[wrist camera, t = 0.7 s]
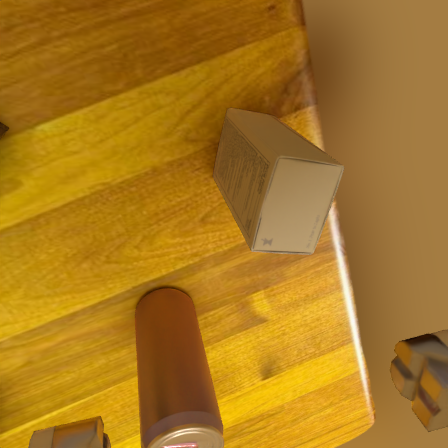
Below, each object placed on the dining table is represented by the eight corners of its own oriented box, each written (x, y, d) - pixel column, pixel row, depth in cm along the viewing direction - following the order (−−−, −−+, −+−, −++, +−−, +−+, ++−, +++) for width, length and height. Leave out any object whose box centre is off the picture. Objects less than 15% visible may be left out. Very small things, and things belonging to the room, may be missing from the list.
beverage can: (140, 282, 37) (151, 428, 24) (199, 287, 39) (237, 425, 26) (129, 328, 40) (134, 481, 27) (185, 330, 42) (213, 475, 29)
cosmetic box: (256, 182, 35) (314, 259, 24) (209, 176, 33) (248, 255, 23) (276, 112, 32) (349, 166, 21) (224, 103, 30) (277, 155, 20)
